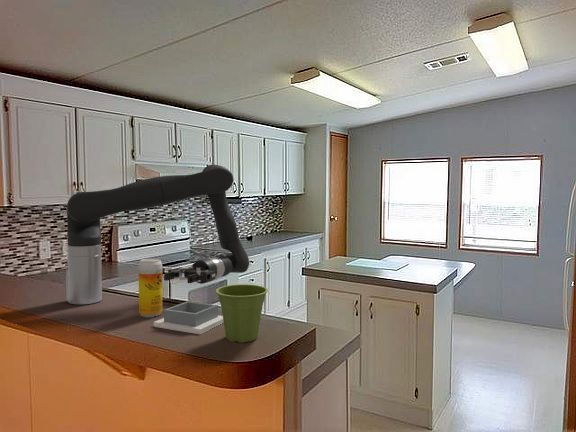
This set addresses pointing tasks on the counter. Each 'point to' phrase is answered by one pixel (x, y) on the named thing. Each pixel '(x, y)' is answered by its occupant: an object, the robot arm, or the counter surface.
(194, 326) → the dock
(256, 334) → the plant pot
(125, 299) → the counter surface
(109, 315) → the counter surface
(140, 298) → the beer can
